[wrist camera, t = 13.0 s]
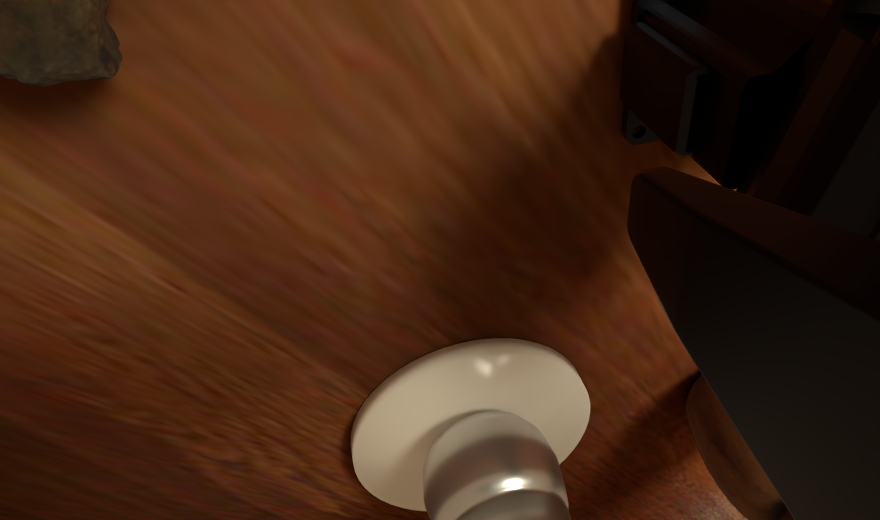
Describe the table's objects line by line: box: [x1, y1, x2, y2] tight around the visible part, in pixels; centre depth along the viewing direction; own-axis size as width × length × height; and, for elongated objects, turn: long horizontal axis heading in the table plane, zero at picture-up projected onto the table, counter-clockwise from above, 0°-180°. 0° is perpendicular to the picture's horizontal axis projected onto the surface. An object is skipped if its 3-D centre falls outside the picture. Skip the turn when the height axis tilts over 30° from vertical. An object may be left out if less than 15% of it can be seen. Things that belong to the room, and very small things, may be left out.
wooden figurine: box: [686, 375, 794, 520], centre depth 30 cm, size 7×6×15 cm
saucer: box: [351, 338, 590, 511], centre depth 32 cm, size 12×12×1 cm
